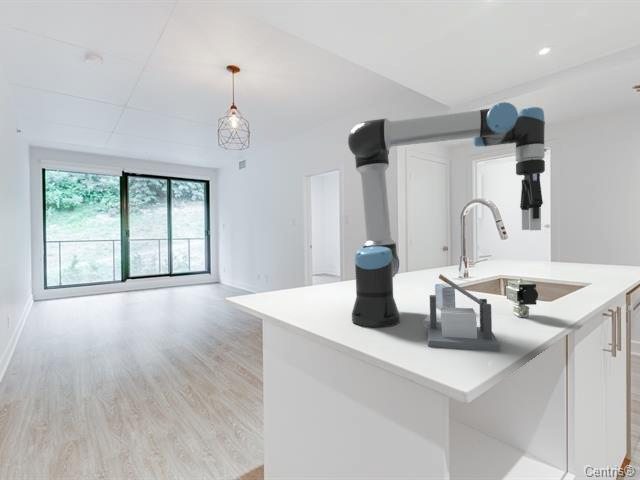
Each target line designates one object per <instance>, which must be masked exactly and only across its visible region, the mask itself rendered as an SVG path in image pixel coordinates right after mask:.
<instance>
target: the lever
mask: <svg viewBox="0 0 640 480" xmlns="http://www.w3.org/2000/svg"><path fill="white" fill-rule="evenodd" d="M438 279H440V280H441V281H442V282H444V283H445V284H449V285H451V286H452V287H454V288H455V290H456V291H458V292H460V293H461V294H462V295H464V296H466V297H467V298H469V299H470V300H472V301H473V302H474V303H477V304H478V305H479V306H480V305H481V306H482V307H483V304H488V302H487V303H486V302H485V301H481V300H479V299H480V298H477V297H476V296H475V295H473V294H472V293H470V292H468V291H467V290H466V289H464V288H462V287H461V286H459V285H458V284H456V283H455V282H453V281H451V280H450V279H449V278H447V277H445V276H444V275H443V274H442V273H441V274H439V275H438Z"/></svg>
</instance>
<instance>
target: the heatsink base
mask: <svg viewBox="0 0 640 480" xmlns="http://www.w3.org/2000/svg"><path fill="white" fill-rule="evenodd" d="M478 299H479V300H481V301H485V302H486V303H487V304H483V307H482V306H481V305H480V304H479V326H478V324H477V313H476V312H475V309H474V308H473V307H456V308H445V307H441V310H440V312H441V325H438V324H437V321H436V311H437V307H436V295H435V294H429V314H430V324H427V343H428V344H427V345H428V347H433V348H447V349H448V348H449V349H463V350H464V349H465V350H476V351H477V350H480V351H490V352H491V351H493V352H494V351H496V352H501V344H500V341H499V340H498V338H497V337H496V335H495V333H494V332H493V331H492V329H493V328H492V327H493V325H492V321H493V320H492V319H493V318H492V304H491V303H488V299H487V298H478Z"/></svg>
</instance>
